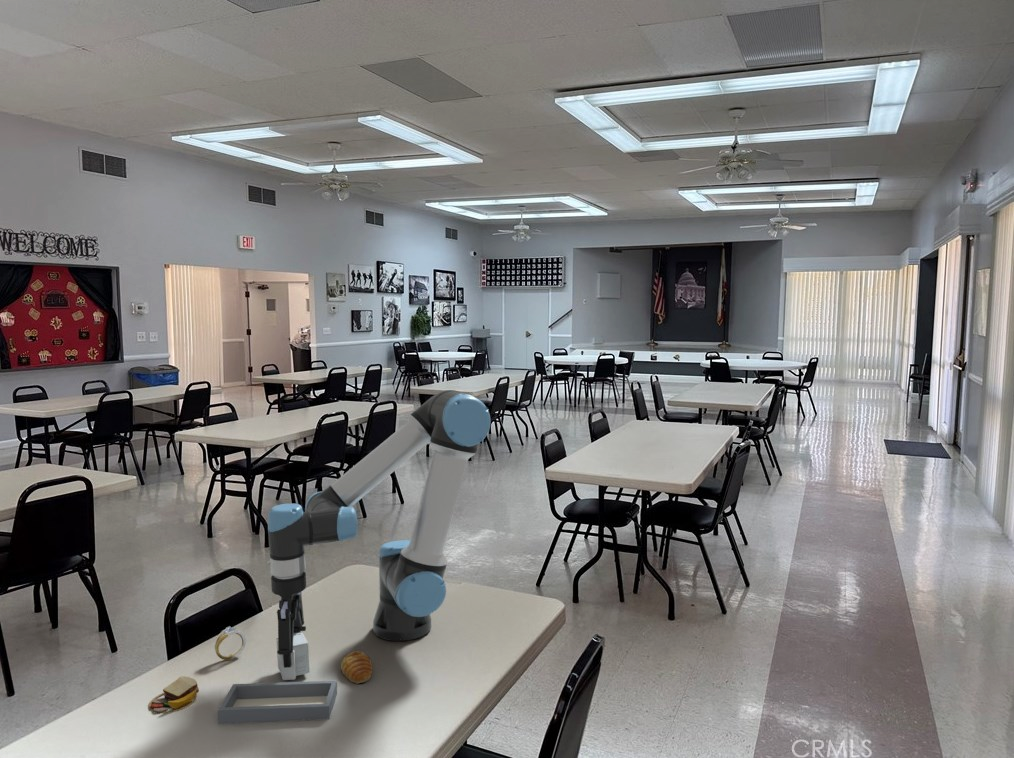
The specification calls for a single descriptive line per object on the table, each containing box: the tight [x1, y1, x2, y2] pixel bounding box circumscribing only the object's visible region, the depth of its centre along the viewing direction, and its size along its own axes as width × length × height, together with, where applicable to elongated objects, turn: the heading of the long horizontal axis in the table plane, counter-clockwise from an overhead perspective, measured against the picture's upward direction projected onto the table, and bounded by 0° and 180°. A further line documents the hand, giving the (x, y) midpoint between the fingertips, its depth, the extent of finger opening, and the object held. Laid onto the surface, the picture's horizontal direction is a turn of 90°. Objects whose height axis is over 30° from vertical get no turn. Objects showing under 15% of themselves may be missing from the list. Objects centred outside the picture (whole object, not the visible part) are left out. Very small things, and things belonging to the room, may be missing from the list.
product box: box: [276, 631, 310, 679], centre depth 160 cm, size 6×6×7 cm
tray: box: [217, 680, 338, 725], centre depth 146 cm, size 22×10×4 cm, turn 95°
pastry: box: [340, 650, 373, 684], centre depth 160 cm, size 9×7×4 cm
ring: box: [214, 625, 247, 661], centre depth 167 cm, size 7×3×8 cm, turn 122°
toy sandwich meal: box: [147, 675, 200, 715], centre depth 149 cm, size 9×10×4 cm
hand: (293, 668), depth 160 cm, fingers closed on product box, 8 cm apart
